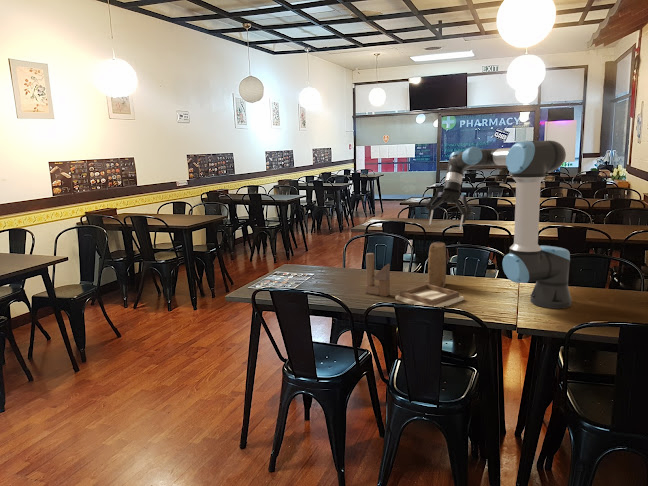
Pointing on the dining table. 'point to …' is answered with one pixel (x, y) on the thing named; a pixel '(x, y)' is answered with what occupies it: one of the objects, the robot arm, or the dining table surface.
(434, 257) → the block
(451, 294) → the pocket board
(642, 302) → the dining table surface
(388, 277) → the wooden block
